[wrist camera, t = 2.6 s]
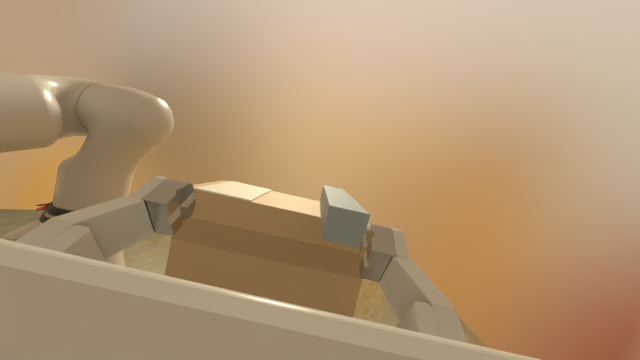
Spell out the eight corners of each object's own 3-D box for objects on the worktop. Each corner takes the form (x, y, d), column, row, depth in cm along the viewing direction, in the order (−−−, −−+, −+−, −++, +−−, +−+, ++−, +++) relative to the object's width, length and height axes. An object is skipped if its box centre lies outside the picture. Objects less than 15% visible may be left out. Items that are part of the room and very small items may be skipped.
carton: (142, 386, 30) (181, 185, 29) (195, 319, 43) (224, 179, 42) (327, 423, 30) (374, 227, 29) (324, 346, 44) (357, 208, 42)
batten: (321, 239, 20) (329, 205, 20) (319, 201, 42) (323, 185, 42) (361, 248, 20) (369, 214, 20) (339, 205, 42) (342, 189, 42)
